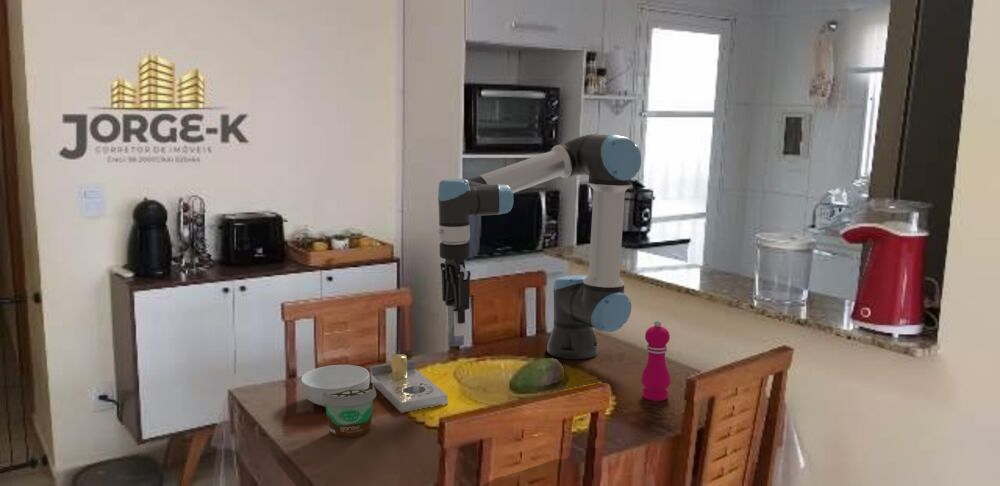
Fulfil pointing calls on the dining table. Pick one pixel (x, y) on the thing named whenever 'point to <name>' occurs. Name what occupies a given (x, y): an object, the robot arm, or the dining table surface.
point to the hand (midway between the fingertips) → (456, 332)
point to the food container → (349, 412)
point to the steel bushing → (451, 338)
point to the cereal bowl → (333, 381)
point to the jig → (406, 385)
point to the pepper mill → (656, 364)
